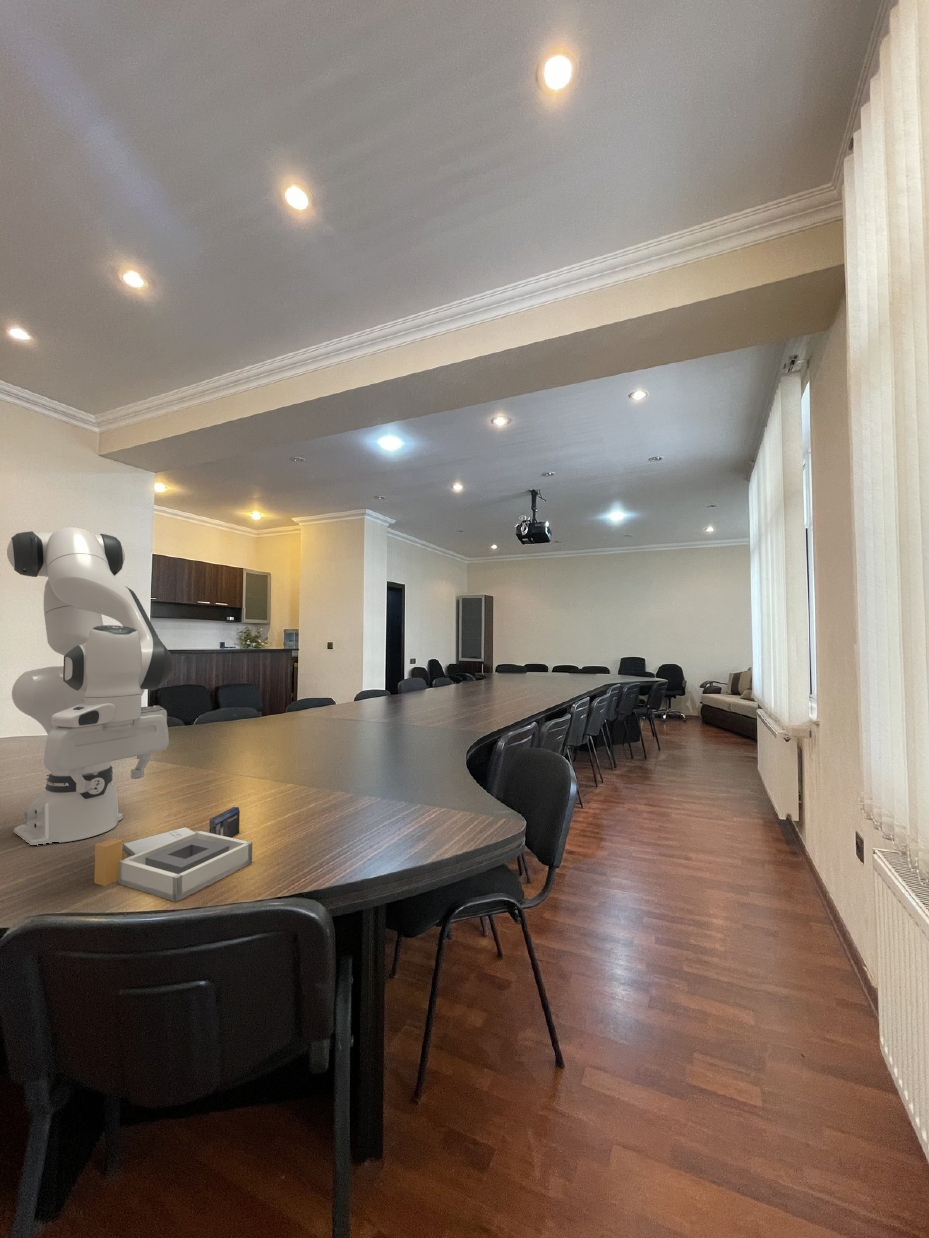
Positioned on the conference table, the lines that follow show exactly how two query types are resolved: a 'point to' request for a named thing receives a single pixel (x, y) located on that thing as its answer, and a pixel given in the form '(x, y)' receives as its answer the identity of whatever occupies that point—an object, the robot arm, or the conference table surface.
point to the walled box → (184, 864)
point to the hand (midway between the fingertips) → (111, 784)
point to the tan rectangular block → (107, 861)
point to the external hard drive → (154, 841)
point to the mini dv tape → (226, 823)
